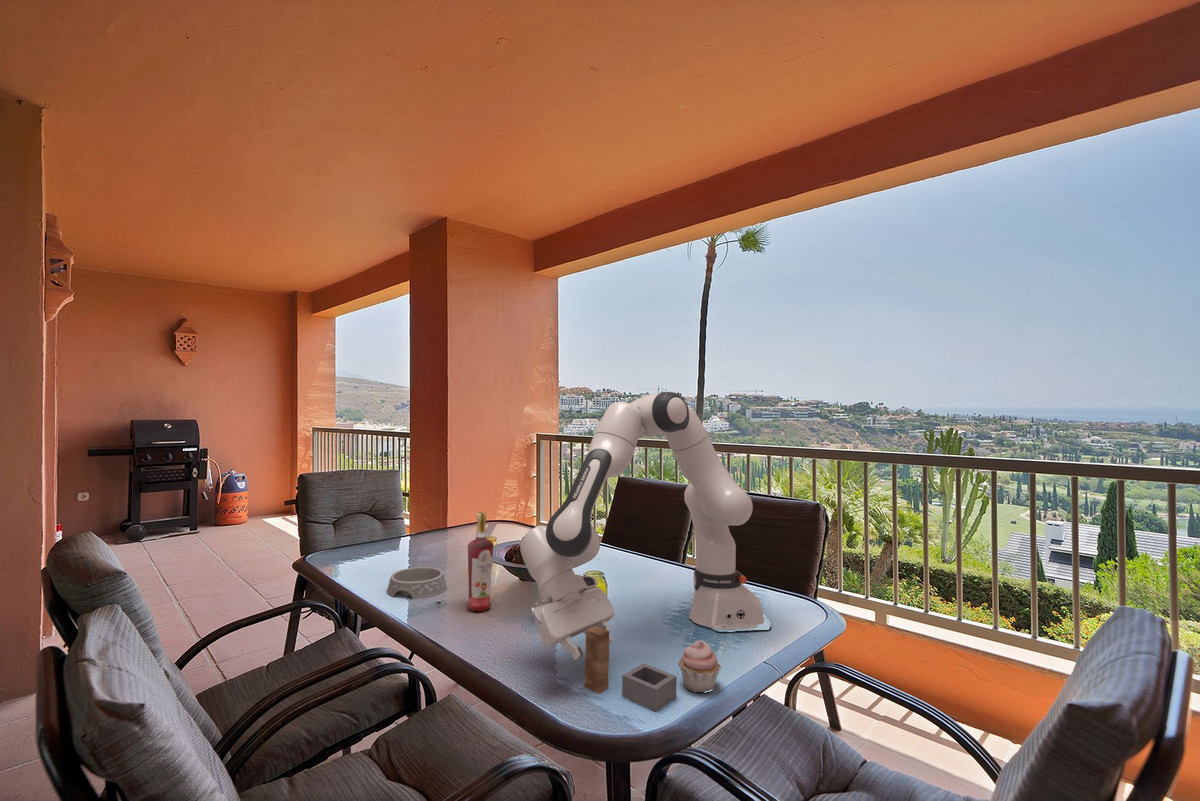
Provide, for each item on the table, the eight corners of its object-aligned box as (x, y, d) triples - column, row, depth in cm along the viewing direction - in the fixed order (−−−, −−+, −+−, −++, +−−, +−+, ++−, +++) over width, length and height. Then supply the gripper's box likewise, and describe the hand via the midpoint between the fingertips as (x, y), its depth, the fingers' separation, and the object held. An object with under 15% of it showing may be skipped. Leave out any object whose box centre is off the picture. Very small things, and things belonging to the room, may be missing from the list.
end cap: (621, 696, 111) (622, 675, 111) (643, 683, 117) (643, 663, 117) (655, 711, 106) (656, 689, 106) (676, 697, 112) (676, 676, 112)
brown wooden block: (584, 686, 115) (585, 629, 115) (593, 681, 117) (595, 625, 117) (598, 693, 112) (600, 635, 113) (608, 688, 115) (609, 631, 115)
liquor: (472, 615, 153) (474, 516, 153) (462, 607, 159) (464, 512, 159) (496, 610, 157) (498, 513, 158) (485, 603, 163) (487, 509, 164)
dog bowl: (430, 602, 164) (430, 584, 164) (375, 597, 167) (375, 579, 167) (455, 584, 181) (455, 568, 181) (404, 580, 184) (405, 564, 184)
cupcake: (676, 695, 112) (677, 647, 112) (677, 674, 121) (678, 629, 122) (722, 700, 111) (723, 651, 111) (720, 678, 120) (720, 632, 120)
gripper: (535, 596, 113) (568, 659, 106) (599, 575, 128) (631, 629, 122) (521, 612, 115) (551, 674, 109) (585, 590, 131) (615, 643, 124)
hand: (594, 650), depth 115 cm, fingers open, 8 cm apart
